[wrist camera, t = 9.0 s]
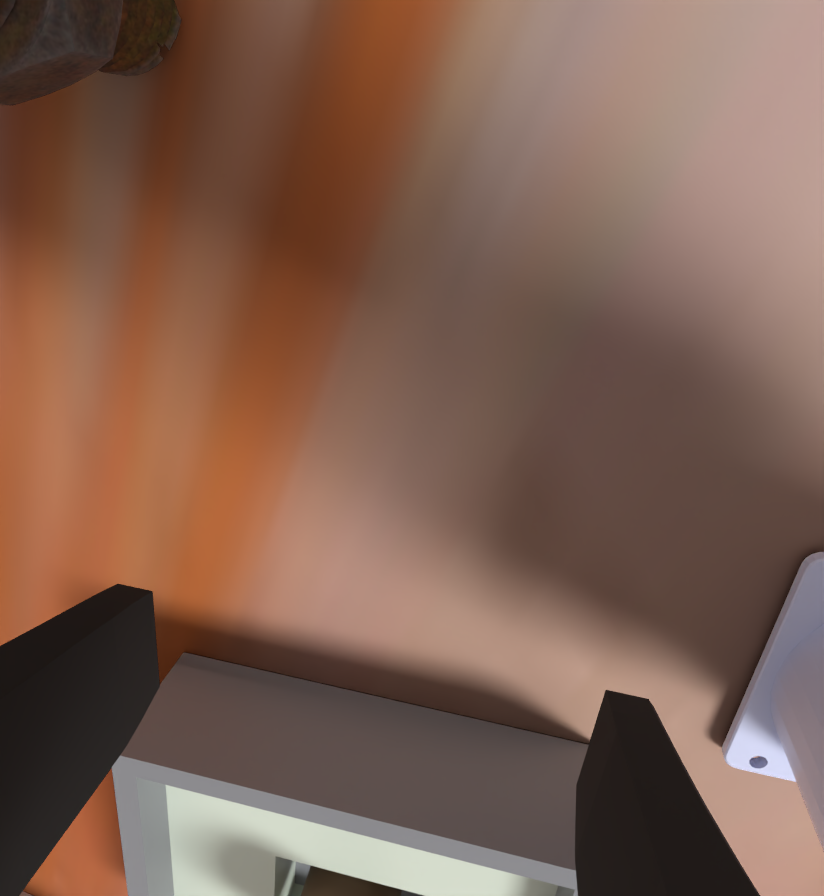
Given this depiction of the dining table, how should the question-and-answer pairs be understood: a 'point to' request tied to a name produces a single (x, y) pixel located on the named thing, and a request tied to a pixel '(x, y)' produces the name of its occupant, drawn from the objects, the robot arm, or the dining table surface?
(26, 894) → the lighter
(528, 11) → the dining table surface
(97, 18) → the bolt
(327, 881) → the peg
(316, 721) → the bore box
